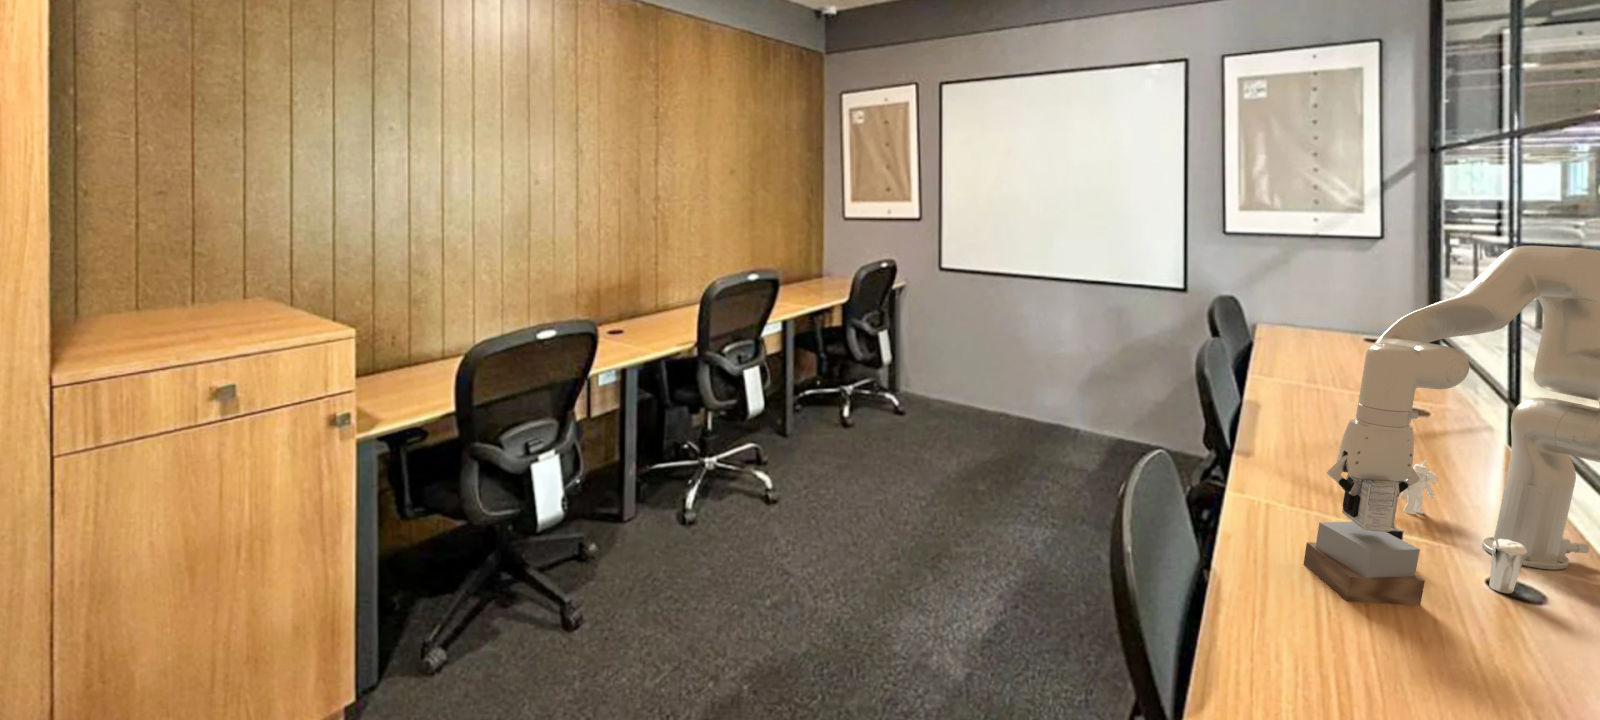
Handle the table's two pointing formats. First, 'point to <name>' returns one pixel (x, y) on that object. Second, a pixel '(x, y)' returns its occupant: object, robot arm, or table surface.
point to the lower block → (1362, 581)
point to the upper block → (1367, 550)
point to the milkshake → (1506, 564)
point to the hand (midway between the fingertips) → (1366, 514)
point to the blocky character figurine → (1418, 489)
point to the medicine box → (1375, 505)
